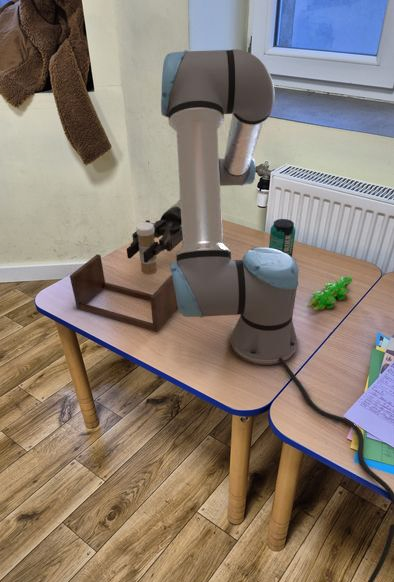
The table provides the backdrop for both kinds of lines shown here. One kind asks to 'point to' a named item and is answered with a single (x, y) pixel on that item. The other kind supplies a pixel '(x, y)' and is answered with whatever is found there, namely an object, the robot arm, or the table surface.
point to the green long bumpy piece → (331, 293)
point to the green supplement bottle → (282, 236)
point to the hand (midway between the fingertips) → (136, 255)
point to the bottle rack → (92, 282)
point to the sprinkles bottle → (146, 246)
